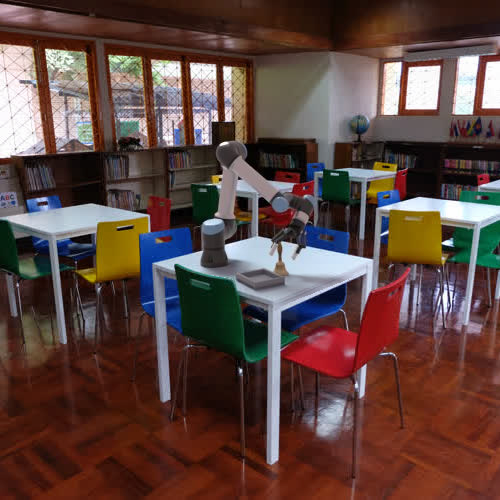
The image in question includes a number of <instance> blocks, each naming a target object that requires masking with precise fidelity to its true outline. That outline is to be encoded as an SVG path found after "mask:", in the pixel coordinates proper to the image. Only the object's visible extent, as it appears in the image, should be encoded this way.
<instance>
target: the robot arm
mask: <svg viewBox="0 0 500 500" xmlns="http://www.w3.org/2000/svg"><path fill="white" fill-rule="evenodd" d="M215 155H216V158H217V161H219V163H220V166H221V168H222V177H221V184H220V192H219V199H218V210H217V212H215V213H214V215H213V217H214V218H211V219H207V220H205V221H204V222H202V228H201V233H202V252H201V256H200V265H201V266H202V267H206V268H221V267H225V266H227V265H229V257H228V254H227V251H226V242H225V241H226V240H227V239H231V237H233V236H234V235H235V233H236V231H237V228H238V227H237V222H236V215H234V210H235V203H236V195H237V190H238V188H237V187H238V180H239V178H240V179H242V180H243V181H244V182H245V183H246V185H248V186H249V187H251V188H252V189H253V190H254V191H255V192H256V193H257V194H258V195H260V196H261V197H263V198H264V199H265V200H266V201H267V202H268V203H269V204H270V205H271V206H272V209H273V210H274V211H275V212H276V213H283V212H286V211H287V210H289V209H291V210H293V211H295V213H294V215H293V217H292V219H291V221H290V222H289V225H288V228H286V227H285V226H283V227H282V228H281V229H280V231H278V232H277V233H276V234H275V235H274V236H273V237H272V238H271V239H270V241H271V243H272V244H271V246H270V250H269V255H270V257H271V256H272V257H273V255H275V252H276V250H277V246H278V243H279V242H281V243H282V242H283V241H284V240H287V239H289V238H291V239H296V243H297V245H296V247H295V249H294V251H293V253H292V255H291V256H290V257H291V259H292V260H293V261H296V259H297V258H298V257H297V256H298V255H300V253H301V250H302V249H306V248H307V235H308V232H307V231H306V229H305V227H306V225H307V224H308V221H309V219H310V217H311V216H312V212H313V211H314V209H315V206H316V205H317V199H316V198H315V197H314V196H313V195H311V194H305V195H303V196H299V195H297V194H293V193H292V192H289V191H286V190H281V191H280V190H278V189H277V187H275V186H274V185H272V184H271V183H270V182H269V181H268V180H267V179H266V178H265V177H263V176H262V175H261V174H260V173H259V172H258V171H257V170H255V169H254V168H253V167H252V166H250V165H249V164H248V163H247V162H246V158H247V156H248V150H247V148H246V145H245V144H244V143H243V142H241V141H238V140H237V141H236V140H230V141H224V142H221V143H220V144H218V146H217V148H216V150H215ZM300 236H301V239H300Z"/></svg>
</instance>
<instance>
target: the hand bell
mask: <svg viewBox="0 0 500 500" xmlns="http://www.w3.org/2000/svg"><path fill="white" fill-rule="evenodd" d="M277 245H278V246H277V248H276V250H277V254H278V256H277V258H278V261H277V262H275V265H274V269H273V270H272V272H274V273H277V274H279V275H281V276H283V277H285V276H287V275H289V271H288V270H287V268H286V265H285V262H283V260H282V258H283V257H282V254H283V245H282V242H279V243H278V244H277Z"/></svg>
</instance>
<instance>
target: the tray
mask: <svg viewBox="0 0 500 500" xmlns="http://www.w3.org/2000/svg"><path fill="white" fill-rule="evenodd" d="M235 279H236V281H237V282H239V283H241V284H243V285H244V286H246V287H248V288H250V289H252V290H253V291H258V290H265V289H267V288H273V287H279V286H284V285H285V283H286V277H285V276H281V275H279V274H277V273H274V272H273V270H270V269H267V268H265V267H263V268H258V269H252V270H247V271H240V272H236V273H235Z"/></svg>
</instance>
